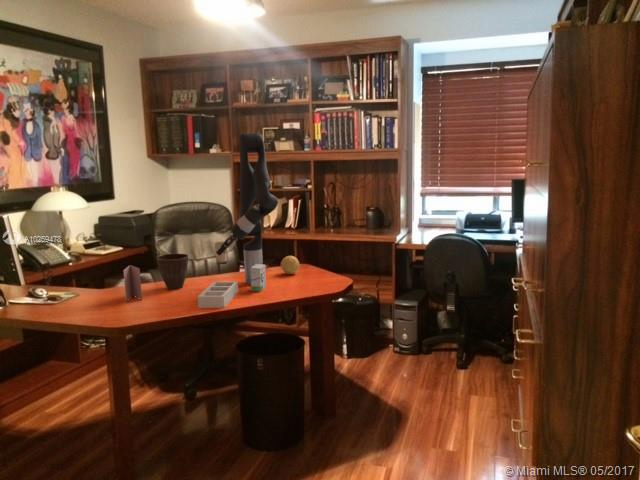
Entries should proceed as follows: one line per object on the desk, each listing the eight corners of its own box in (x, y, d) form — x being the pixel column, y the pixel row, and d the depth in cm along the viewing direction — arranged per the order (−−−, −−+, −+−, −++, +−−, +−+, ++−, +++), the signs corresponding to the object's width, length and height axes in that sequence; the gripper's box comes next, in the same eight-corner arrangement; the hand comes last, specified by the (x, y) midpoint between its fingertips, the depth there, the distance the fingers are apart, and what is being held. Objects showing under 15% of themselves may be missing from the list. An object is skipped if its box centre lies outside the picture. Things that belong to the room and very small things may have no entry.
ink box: (256, 287, 265) (255, 263, 263) (266, 287, 263) (265, 263, 262) (250, 291, 256) (249, 267, 254) (261, 292, 255) (260, 267, 253)
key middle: (211, 292, 247) (211, 289, 247) (229, 292, 247) (229, 289, 246) (208, 295, 241) (207, 293, 241) (226, 295, 241) (225, 293, 240)
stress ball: (291, 273, 296) (276, 262, 294) (302, 260, 295) (288, 249, 292) (292, 280, 287) (277, 269, 284) (303, 266, 285) (288, 256, 282)
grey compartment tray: (214, 292, 258) (214, 281, 257) (238, 291, 257) (237, 281, 256) (198, 307, 232) (197, 296, 231) (224, 307, 231) (223, 296, 230)
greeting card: (130, 295, 255) (128, 264, 252) (146, 295, 256) (144, 264, 253) (124, 302, 244) (121, 270, 241) (141, 301, 244) (138, 269, 242)
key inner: (216, 287, 255) (216, 284, 255) (233, 287, 255) (233, 284, 254) (213, 291, 249) (212, 288, 249) (230, 290, 249) (230, 287, 248)
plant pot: (192, 289, 263) (190, 257, 260) (160, 293, 258) (158, 260, 255) (188, 283, 277) (186, 252, 274) (158, 286, 272) (156, 255, 269)
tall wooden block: (219, 262, 252) (217, 241, 251) (228, 262, 252) (226, 241, 250) (216, 264, 248) (214, 243, 246) (226, 264, 248) (224, 242, 246)
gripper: (241, 219, 253) (217, 244, 256) (233, 223, 239) (208, 250, 242) (252, 230, 253) (229, 255, 257) (246, 234, 239) (221, 261, 242)
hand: (219, 252), depth 249 cm, fingers closed on tall wooden block, 4 cm apart
